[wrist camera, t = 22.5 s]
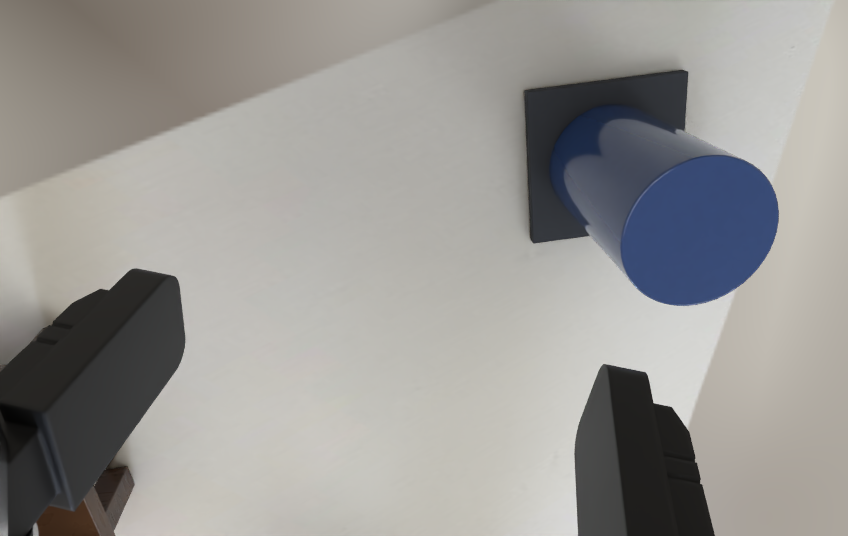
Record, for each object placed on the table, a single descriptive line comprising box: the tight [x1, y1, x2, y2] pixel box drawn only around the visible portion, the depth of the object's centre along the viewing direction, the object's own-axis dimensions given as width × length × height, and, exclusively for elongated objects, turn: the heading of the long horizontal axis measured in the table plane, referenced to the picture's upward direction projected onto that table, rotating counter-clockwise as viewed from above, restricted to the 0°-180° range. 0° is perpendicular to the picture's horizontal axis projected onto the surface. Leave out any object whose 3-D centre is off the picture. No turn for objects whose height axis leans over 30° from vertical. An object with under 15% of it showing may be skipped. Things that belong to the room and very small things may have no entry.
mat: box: [525, 70, 688, 243], centre depth 33 cm, size 8×8×1 cm
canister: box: [549, 104, 779, 306], centre depth 28 cm, size 6×6×10 cm
